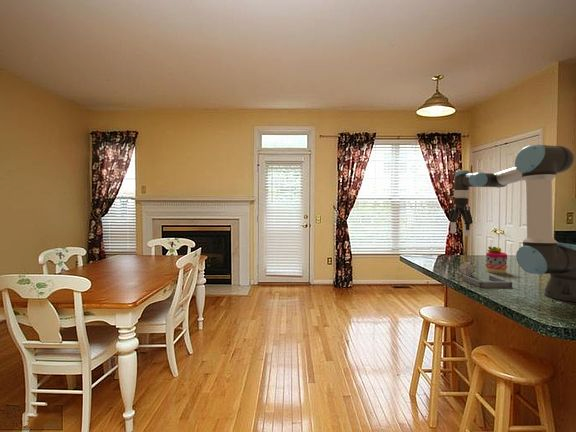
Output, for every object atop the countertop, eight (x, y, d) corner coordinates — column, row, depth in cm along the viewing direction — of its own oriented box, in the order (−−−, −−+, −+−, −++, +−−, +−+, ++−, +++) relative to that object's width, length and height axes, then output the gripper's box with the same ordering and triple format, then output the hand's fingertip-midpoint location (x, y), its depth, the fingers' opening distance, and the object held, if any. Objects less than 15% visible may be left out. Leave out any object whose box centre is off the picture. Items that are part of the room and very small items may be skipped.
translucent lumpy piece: (470, 283, 178) (482, 270, 173) (455, 277, 178) (467, 264, 173) (466, 272, 186) (477, 260, 180) (452, 266, 186) (463, 254, 180)
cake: (489, 269, 198) (490, 244, 198) (509, 272, 190) (510, 246, 190) (482, 271, 192) (483, 245, 191) (503, 274, 184) (504, 248, 183)
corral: (512, 287, 155) (512, 282, 155) (480, 287, 155) (480, 282, 155) (491, 279, 171) (491, 275, 170) (462, 279, 170) (462, 274, 170)
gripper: (481, 197, 175) (479, 237, 176) (455, 197, 200) (453, 232, 201) (467, 197, 175) (465, 237, 176) (443, 197, 200) (441, 232, 201)
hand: (459, 234), depth 189 cm, fingers open, 13 cm apart
